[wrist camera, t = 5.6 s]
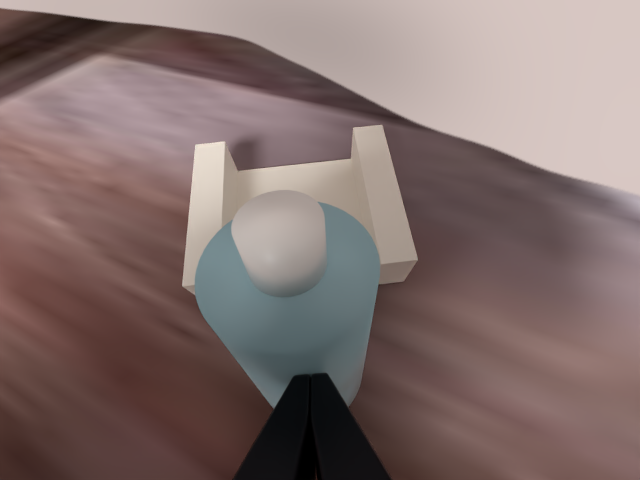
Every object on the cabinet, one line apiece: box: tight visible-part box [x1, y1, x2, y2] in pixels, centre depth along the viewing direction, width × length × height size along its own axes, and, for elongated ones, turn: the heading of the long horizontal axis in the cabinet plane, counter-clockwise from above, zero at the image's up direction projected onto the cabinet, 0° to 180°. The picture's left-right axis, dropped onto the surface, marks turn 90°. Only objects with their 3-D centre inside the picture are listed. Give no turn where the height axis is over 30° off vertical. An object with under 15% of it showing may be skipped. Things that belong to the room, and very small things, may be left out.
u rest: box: [182, 125, 418, 296], centre depth 16 cm, size 8×10×3 cm
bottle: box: [195, 190, 380, 409], centre depth 10 cm, size 5×5×10 cm
